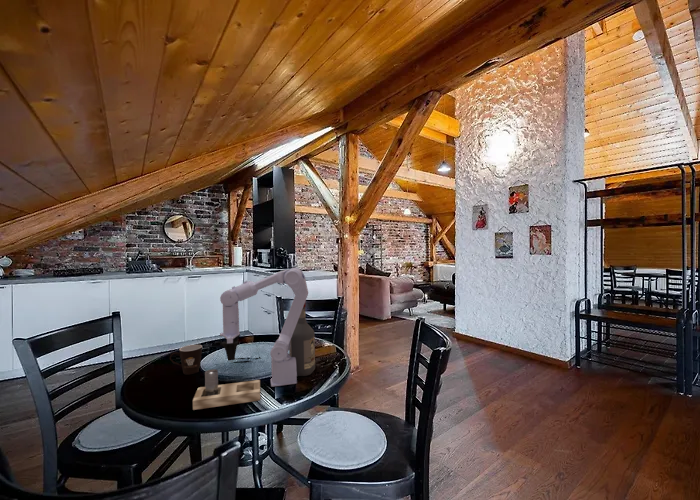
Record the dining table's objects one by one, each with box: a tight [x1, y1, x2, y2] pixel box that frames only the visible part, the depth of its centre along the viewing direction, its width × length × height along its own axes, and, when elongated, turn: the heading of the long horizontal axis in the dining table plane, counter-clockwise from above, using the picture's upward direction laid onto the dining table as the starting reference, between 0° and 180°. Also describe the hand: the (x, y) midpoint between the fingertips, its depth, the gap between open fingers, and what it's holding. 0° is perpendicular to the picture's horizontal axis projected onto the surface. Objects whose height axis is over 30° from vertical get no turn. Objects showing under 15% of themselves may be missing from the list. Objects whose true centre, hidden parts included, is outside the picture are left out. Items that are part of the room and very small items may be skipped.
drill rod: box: [204, 368, 219, 396], centre depth 112 cm, size 4×4×10 cm
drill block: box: [192, 379, 261, 411], centre depth 113 cm, size 21×10×3 cm, turn 106°
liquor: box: [288, 300, 316, 377], centre depth 135 cm, size 9×9×30 cm
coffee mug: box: [169, 344, 203, 375], centre depth 138 cm, size 12×9×10 cm
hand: (232, 356), depth 125 cm, fingers open, 7 cm apart
